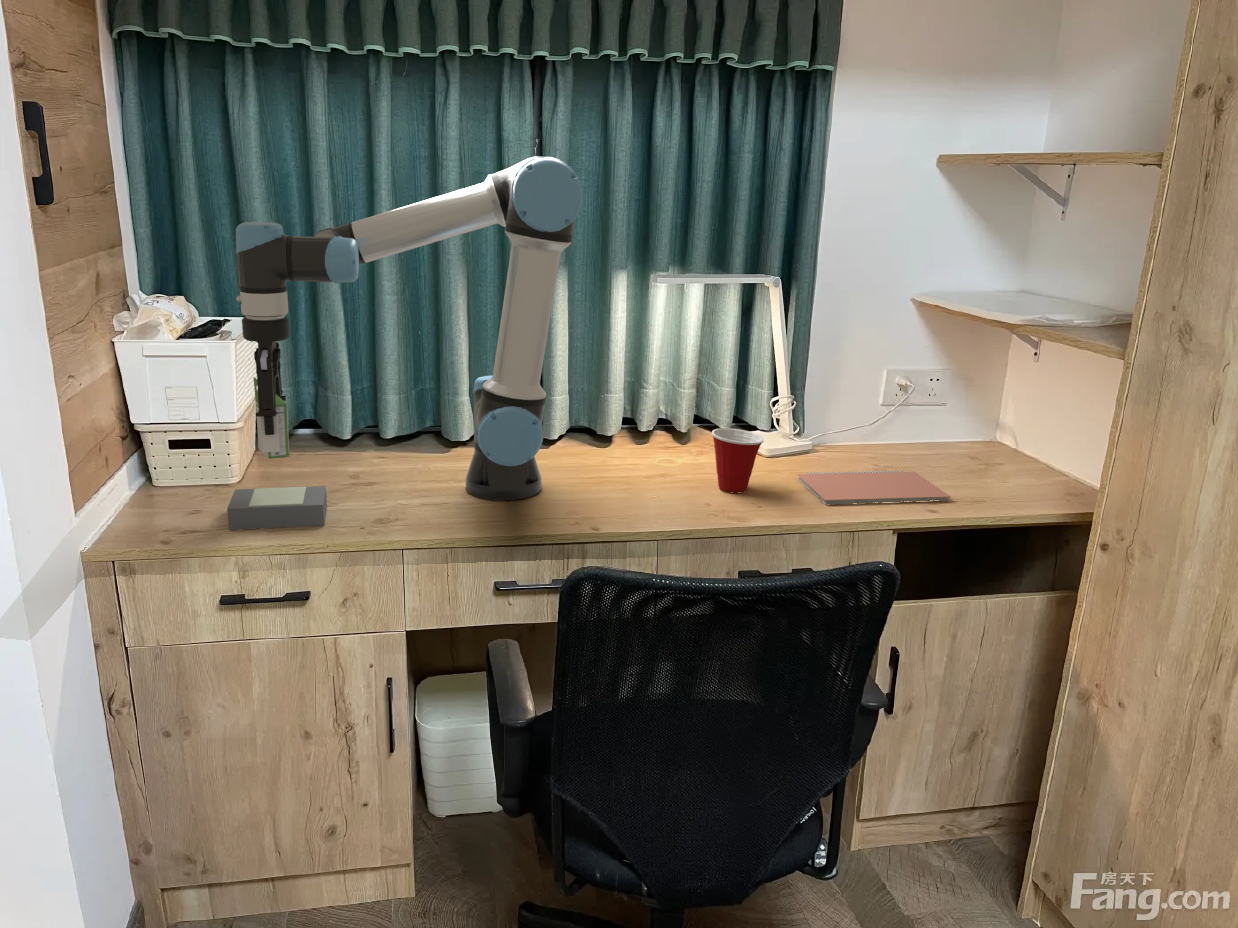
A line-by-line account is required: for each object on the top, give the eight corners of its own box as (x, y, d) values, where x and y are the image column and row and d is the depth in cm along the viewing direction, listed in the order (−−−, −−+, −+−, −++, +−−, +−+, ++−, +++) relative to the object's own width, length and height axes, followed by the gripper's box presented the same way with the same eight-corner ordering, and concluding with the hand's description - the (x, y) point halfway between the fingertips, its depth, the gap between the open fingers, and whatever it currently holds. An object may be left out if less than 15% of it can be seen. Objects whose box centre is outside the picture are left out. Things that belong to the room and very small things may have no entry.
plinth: (327, 505, 183) (325, 484, 182) (324, 525, 174) (323, 503, 172) (236, 509, 179) (234, 488, 178) (229, 530, 170) (227, 507, 169)
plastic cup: (769, 495, 199) (775, 438, 195) (723, 500, 195) (727, 443, 191) (743, 478, 208) (748, 424, 204) (698, 483, 204) (702, 428, 200)
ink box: (291, 457, 171) (286, 382, 167) (267, 460, 169) (262, 384, 165) (280, 446, 176) (276, 374, 172) (258, 449, 174) (252, 376, 170)
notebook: (911, 477, 215) (912, 468, 214) (949, 504, 199) (950, 495, 199) (794, 480, 210) (795, 471, 209) (824, 507, 194) (825, 498, 194)
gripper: (249, 306, 174) (258, 428, 181) (233, 327, 155) (244, 463, 162) (293, 306, 175) (300, 427, 182) (282, 327, 156) (291, 461, 163)
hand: (274, 444), depth 172 cm, fingers closed on ink box, 8 cm apart
